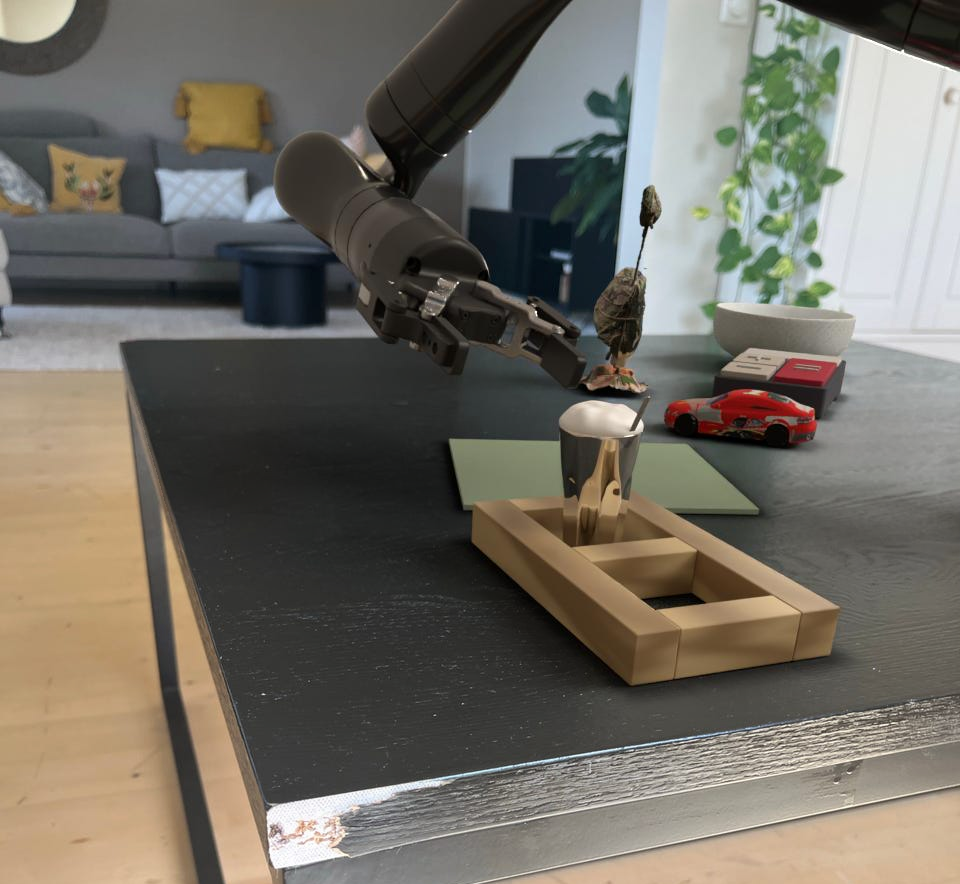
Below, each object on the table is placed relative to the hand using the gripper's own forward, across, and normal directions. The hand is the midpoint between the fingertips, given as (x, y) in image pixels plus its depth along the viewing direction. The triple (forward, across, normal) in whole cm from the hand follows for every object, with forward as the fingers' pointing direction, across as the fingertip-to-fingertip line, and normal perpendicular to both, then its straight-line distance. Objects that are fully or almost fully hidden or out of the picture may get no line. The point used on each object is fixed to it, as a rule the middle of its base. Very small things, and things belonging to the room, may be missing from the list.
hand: (521, 368), depth 60 cm
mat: (-4, +12, +9) cm, 16 cm away
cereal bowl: (-37, +63, +11) cm, 74 cm away
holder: (+15, 0, +6) cm, 16 cm away
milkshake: (+11, +1, +7) cm, 13 cm away
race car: (-11, +32, +8) cm, 35 cm away
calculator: (-22, +48, +9) cm, 54 cm away
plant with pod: (-32, +35, +14) cm, 49 cm away
